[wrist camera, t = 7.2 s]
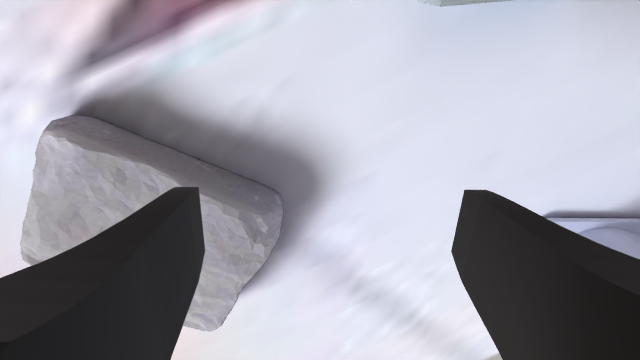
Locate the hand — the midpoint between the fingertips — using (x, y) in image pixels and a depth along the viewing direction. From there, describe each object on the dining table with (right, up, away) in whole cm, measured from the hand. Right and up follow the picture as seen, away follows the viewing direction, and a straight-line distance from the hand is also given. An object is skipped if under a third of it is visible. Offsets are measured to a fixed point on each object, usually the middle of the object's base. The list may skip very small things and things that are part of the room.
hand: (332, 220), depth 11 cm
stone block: (-9, -1, +12) cm, 15 cm away
